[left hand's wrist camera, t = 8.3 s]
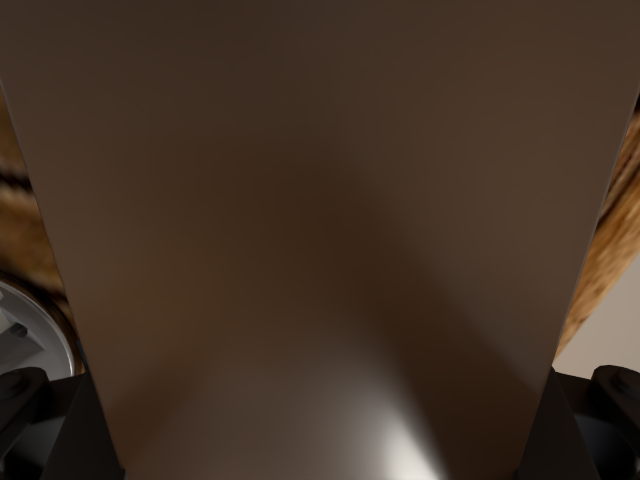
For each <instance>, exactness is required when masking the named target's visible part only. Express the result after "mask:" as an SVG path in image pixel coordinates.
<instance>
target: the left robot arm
mask: <svg viewBox="0 0 640 480" xmlns="http://www.w3.org/2000/svg"><path fill="white" fill-rule="evenodd" d="M81 358H82V361H83V364H84V368H85V373H83V374H80V373H81V364H82V362H81ZM0 480H128V476H127V473H126V470H125V469H122V468H120V466H119V463H118V459H117V456H116V453H115V450H114V447H113V443H112V440H111V437H110V434H109V431H108V427H107V424H106V421H105V418H104V415H103V412H102V408H101V405H100V402H99V399H98V396H97V392H96V389H95V386H94V383H93V380H92V377H91V373H90V370H89V367H88V364H87V361H86V357H85V354H84V351H83V348H82V345H81V341H80V338H78V340H77V339H76V337H75V335H74V333H73V331H72V329H71V327H70V326H69V324H68V323H67V321H66V320H65V319H64V317H63V316H62V315H61V314H60V312H59V311H58V310H57V309H56V308H55V307H54V306H53V305H52V304H51V303H50V302H49V301H48V300H47V299H46V298H44V297H43V296H42V295H41V294H39V293H38V292H37V291H35V290H34V289H32V288H31V287H30V286H28V285H26V284H25V283H23V282H21V281H20V280H18V279H16V278H14V277H12V276H10V275H8V274H5V273H3V272H1V271H0ZM512 480H640V373H639V372H636V371H634V370H630V369H628V368H624V367H619V366H613V365H604V366H599V367H598V368H596V369H595V370H594V372H593V375H592V378H591V380H590V379H585V378H581V377H576V376H571V375H566V374H562V373H559V372H555V370H554V368H553V367H552V366H551V369H550V372H549V375H548V378H547V381H546V384H545V388H544V391H543V394H542V397H541V400H540V403H539V406H538V409H537V412H536V415H535V419H534V422H533V425H532V428H531V431H530V434H529V437H528V440H527V443H526V447H525V450H524V453H523V456H522V459H521V462H520V465H519V468H518V469H516V470H515V472H514V475H513V478H512Z"/></svg>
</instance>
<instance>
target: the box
mask: <svg viewBox="0 0 640 480" xmlns="http://www.w3.org/2000/svg"><path fill="white" fill-rule="evenodd" d="M0 87H1V90H2V93H3V96H4V99H5V103H6V106H7V109H8V112H9V115H10V118H11V122H12V125H13V128H14V131H15V134H16V138H17V141H18V144H19V147H20V150H21V154H22V157H23V160H24V163H25V166H26V169H27V173H28V176H29V179H30V182H31V185H32V189H33V192H34V195H35V198H36V201H37V205H38V208H39V211H40V214H41V217H42V220H43V224H44V227H45V230H46V233H47V236H48V240H49V243H50V246H51V249H52V252H53V255H54V259H55V262H56V265H57V268H58V271H59V275H60V278H61V281H62V284H63V287H64V291H65V294H66V297H67V300H68V303H69V306H70V310H71V313H72V316H73V319H74V322H75V326H76V329H77V332H78V335H79V338H80V341H81V345H82V348H83V351H84V354H85V357H86V361H87V364H88V367H89V370H90V373H91V377H92V380H93V383H94V386H95V389H96V392H97V396H98V399H99V402H100V405H101V408H102V412H103V415H104V418H105V421H106V424H107V427H108V431H109V434H110V437H111V440H112V443H113V447H114V450H115V453H116V456H117V459H118V463H119V466H120V468H122V469H125V470H126V473H127V476H128V480H512V478H513V475H514V472H515V470H516V469H518V468H519V465H520V462H521V459H522V456H523V453H524V450H525V447H526V443H527V440H528V437H529V434H530V431H531V428H532V425H533V422H534V419H535V415H536V412H537V409H538V406H539V403H540V400H541V397H542V394H543V391H544V388H545V384H546V381H547V378H548V375H549V372H550V369H551V366H552V363H553V360H554V356H555V353H556V350H557V347H558V344H559V341H560V338H561V335H562V332H563V329H564V325H565V322H566V319H567V316H568V313H569V310H570V307H571V304H572V301H573V297H574V294H575V291H576V288H577V285H578V282H579V279H580V276H581V273H582V269H583V266H584V263H585V260H586V257H587V254H588V251H589V248H590V245H591V242H592V238H593V235H594V232H595V229H596V226H597V223H598V220H599V217H600V214H601V210H602V207H603V204H604V201H605V198H606V195H607V192H608V189H609V186H610V183H611V179H612V176H613V173H614V170H615V167H616V164H617V161H618V158H619V155H620V151H621V148H622V145H623V142H624V139H625V136H626V133H627V130H628V127H629V123H630V120H631V117H632V114H633V111H634V108H635V105H636V102H637V99H638V96H639V92H640V0H0Z"/></svg>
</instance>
